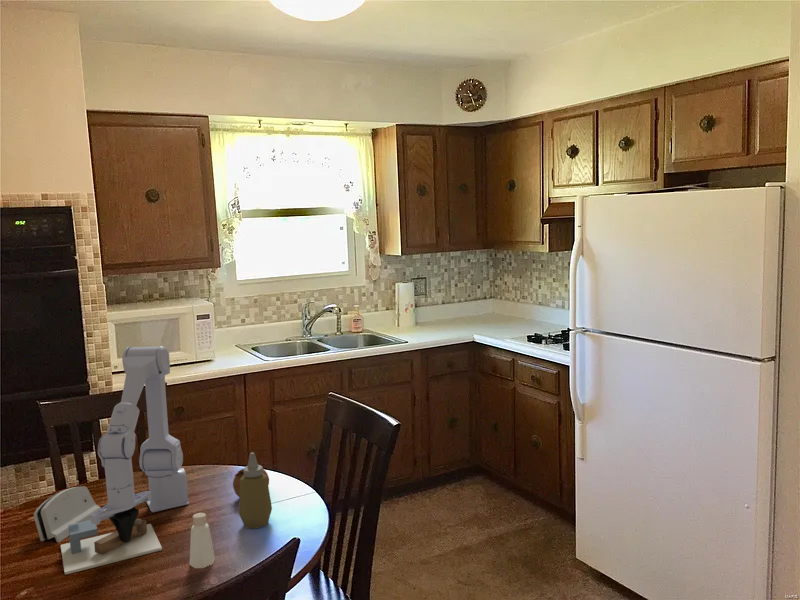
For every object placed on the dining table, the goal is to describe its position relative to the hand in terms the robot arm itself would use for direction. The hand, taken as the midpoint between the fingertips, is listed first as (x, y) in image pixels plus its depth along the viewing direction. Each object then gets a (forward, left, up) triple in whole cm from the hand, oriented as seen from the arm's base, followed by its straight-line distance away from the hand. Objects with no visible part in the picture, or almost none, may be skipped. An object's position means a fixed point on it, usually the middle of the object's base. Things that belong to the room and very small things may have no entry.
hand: (125, 541), depth 154 cm
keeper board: (+3, -2, -2) cm, 4 cm away
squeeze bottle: (-30, +4, -2) cm, 30 cm away
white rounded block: (+11, -21, -2) cm, 24 cm away
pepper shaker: (-14, +16, -2) cm, 21 cm away
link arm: (0, -3, -1) cm, 3 cm away
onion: (-34, -12, -2) cm, 36 cm away
